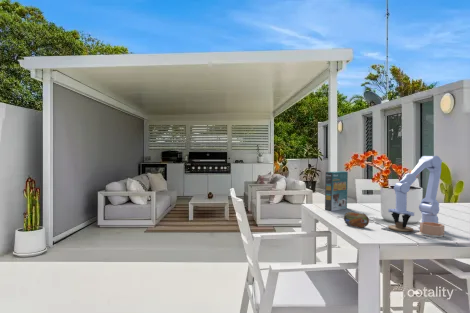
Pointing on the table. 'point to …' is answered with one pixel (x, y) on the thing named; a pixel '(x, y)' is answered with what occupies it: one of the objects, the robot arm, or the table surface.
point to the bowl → (432, 229)
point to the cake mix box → (336, 190)
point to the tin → (356, 219)
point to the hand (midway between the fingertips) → (400, 226)
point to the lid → (400, 227)
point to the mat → (401, 231)
